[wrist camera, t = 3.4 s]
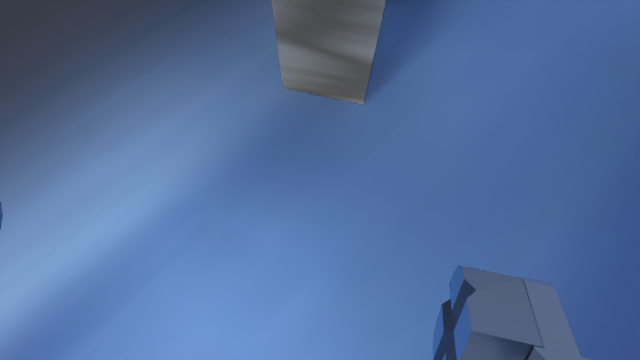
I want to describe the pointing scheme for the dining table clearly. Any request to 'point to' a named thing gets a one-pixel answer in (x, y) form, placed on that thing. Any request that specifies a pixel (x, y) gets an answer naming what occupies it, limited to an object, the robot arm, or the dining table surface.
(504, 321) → the robot arm
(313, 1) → the tall beige block
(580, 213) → the dining table surface
